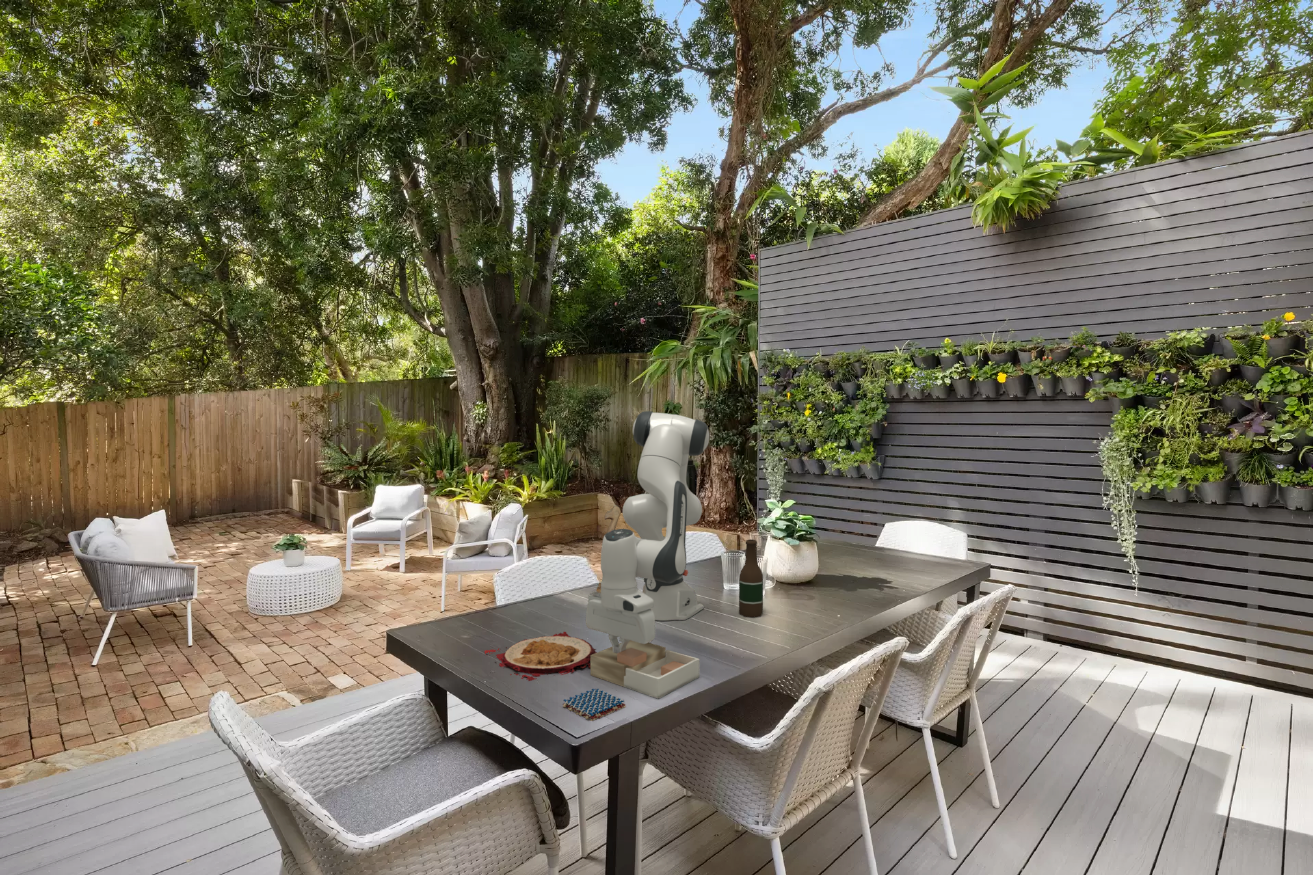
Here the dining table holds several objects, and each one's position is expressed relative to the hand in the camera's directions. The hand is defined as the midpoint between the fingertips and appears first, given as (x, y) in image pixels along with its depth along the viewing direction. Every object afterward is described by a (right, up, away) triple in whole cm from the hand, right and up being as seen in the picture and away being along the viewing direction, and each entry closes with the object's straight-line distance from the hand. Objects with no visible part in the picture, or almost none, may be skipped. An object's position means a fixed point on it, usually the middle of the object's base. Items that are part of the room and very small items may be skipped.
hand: (619, 653), depth 162 cm
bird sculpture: (-7, -3, +77) cm, 78 cm away
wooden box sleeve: (+2, -6, +4) cm, 8 cm away
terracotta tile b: (+3, -1, -2) cm, 4 cm away
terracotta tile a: (+14, -3, +1) cm, 14 cm away
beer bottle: (+39, -4, +51) cm, 65 cm away
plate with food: (-20, -7, +13) cm, 25 cm away
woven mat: (-5, -7, -16) cm, 18 cm away
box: (+10, -6, -2) cm, 12 cm away
